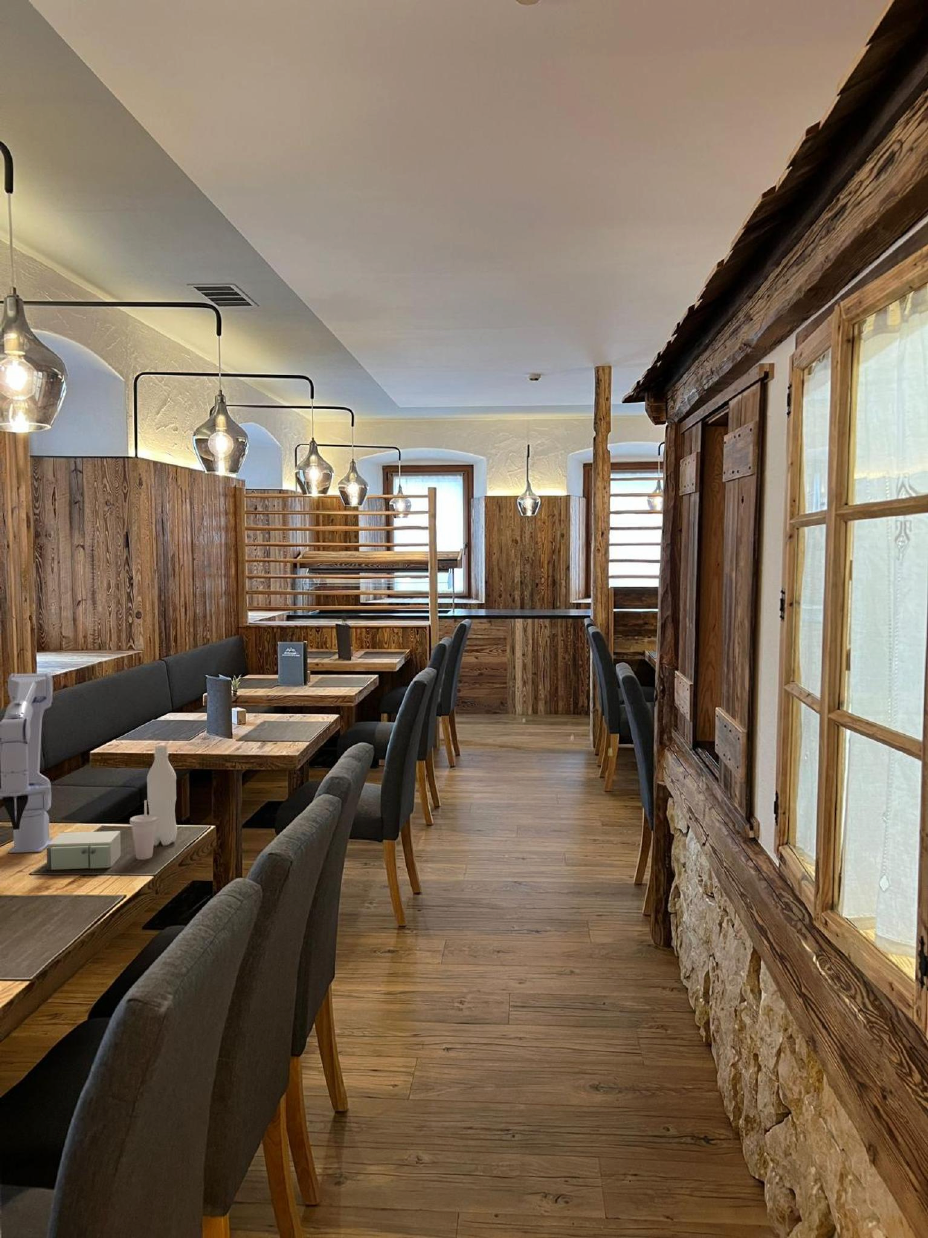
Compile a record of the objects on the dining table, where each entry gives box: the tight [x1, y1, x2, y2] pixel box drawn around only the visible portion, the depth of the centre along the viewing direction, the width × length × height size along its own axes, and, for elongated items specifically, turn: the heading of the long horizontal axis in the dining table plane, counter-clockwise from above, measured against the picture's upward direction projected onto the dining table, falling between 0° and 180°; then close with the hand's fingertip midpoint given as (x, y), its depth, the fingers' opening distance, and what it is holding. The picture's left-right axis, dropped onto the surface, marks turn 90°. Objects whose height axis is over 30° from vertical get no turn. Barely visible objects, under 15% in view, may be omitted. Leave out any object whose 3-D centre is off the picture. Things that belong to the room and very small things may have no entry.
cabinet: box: [47, 830, 122, 869], centre depth 215 cm, size 11×14×6 cm
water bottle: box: [146, 744, 178, 846], centre depth 230 cm, size 7×7×25 cm
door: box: [46, 845, 90, 871], centre depth 210 cm, size 2×9×5 cm, turn 98°
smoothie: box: [129, 799, 158, 860], centre depth 220 cm, size 6×6×14 cm
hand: (16, 828), depth 209 cm, fingers closed
